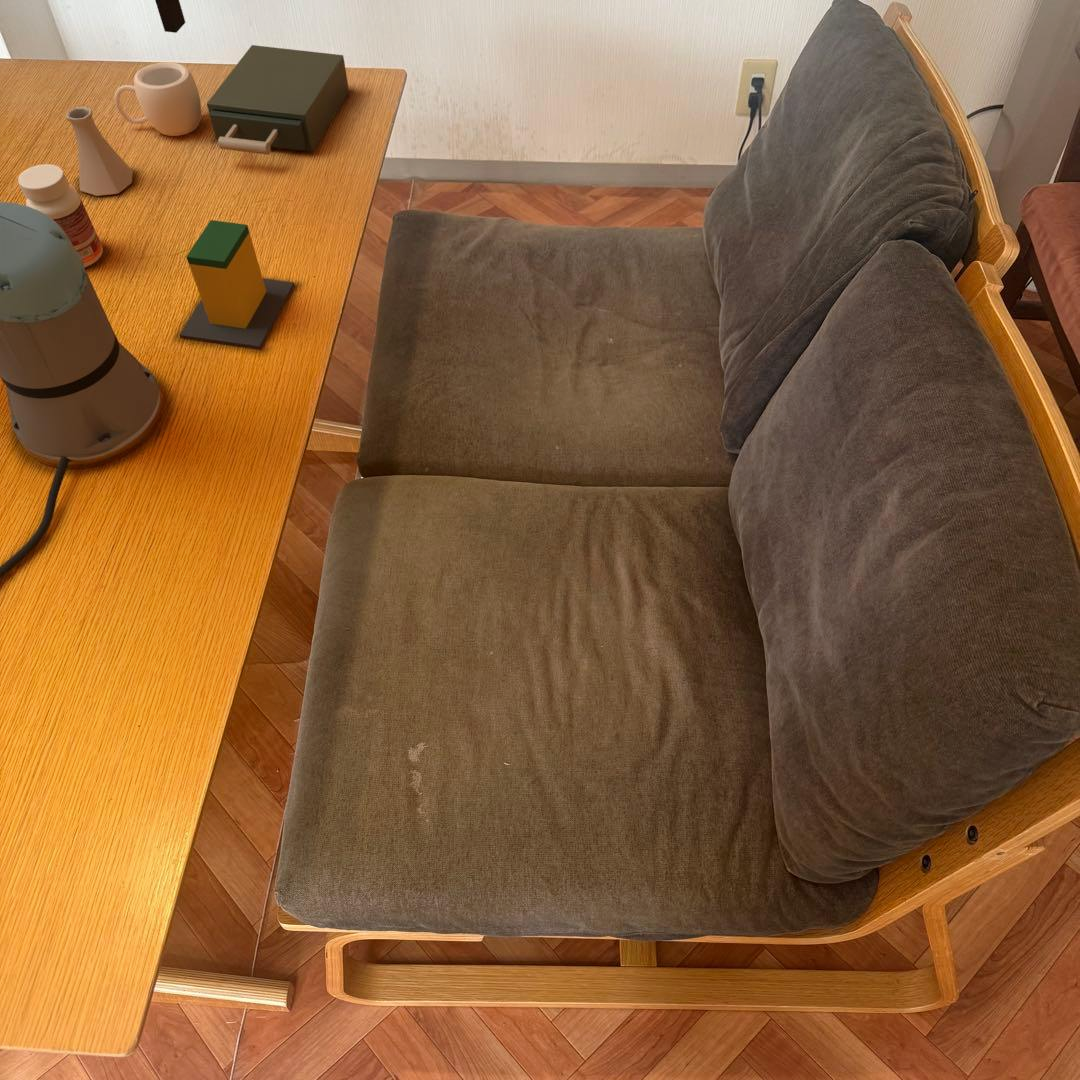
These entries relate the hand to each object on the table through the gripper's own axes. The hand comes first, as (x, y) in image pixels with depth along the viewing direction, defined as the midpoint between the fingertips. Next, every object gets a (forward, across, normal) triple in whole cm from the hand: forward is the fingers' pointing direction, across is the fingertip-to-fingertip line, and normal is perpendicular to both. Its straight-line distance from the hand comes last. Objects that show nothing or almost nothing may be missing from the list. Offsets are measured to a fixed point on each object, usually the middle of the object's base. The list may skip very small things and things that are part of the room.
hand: (175, 26), depth 109 cm
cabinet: (+20, -3, -18) cm, 27 cm away
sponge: (+20, -13, +26) cm, 35 cm away
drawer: (+20, -3, -14) cm, 24 cm away
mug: (+21, +13, -11) cm, 27 cm away
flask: (+21, +15, +4) cm, 26 cm away
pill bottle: (+21, +11, +20) cm, 31 cm away
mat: (+20, -13, +26) cm, 36 cm away
